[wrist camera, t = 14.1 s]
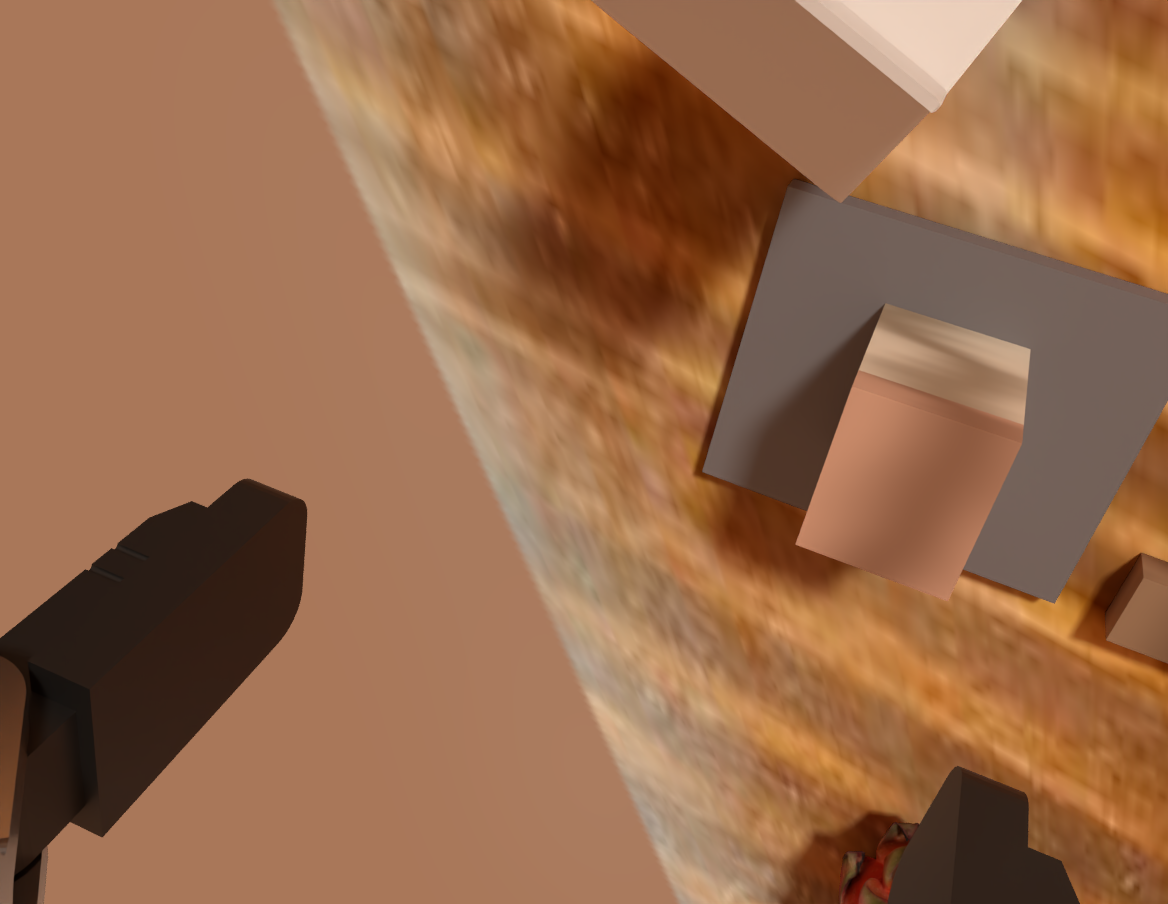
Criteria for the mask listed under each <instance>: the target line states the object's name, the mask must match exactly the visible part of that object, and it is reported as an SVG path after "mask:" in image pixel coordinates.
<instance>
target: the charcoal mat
mask: <svg viewBox="0 0 1168 904" xmlns="http://www.w3.org/2000/svg"><path fill="white" fill-rule="evenodd" d="M885 303H886V304H890V305H893V306H896V307H899V308H902V309H905V310H908V311H912V312H915V313H918V314H921V315H924V316H927V317H931V318H934V319H937V320H940V321H943V322H946V323H949V324H953V325H956V326H959V327H962V328H965V329H968V330H972V331H975V332H978V333H981V334H984V335H987V336H990V337H994V338H997V339H1000V340H1003V341H1006V342H1009V343H1012V344H1016V345H1019V346H1022V347H1025V348H1028V349H1031V350H1030V361H1029V372H1028V383H1027V395H1026V406H1025V417H1024V429H1023V440H1022V445H1021V447H1020V449H1019V451H1018V453H1017V455H1016V458H1015V460H1014V462H1013V464H1012V466H1011V468H1010V470H1009V472H1008V475H1007V477H1006V479H1005V481H1004V483H1003V485H1002V487H1001V489H1000V492H999V494H998V496H997V498H996V500H995V502H994V504H993V506H992V509H991V511H990V513H989V515H988V517H987V519H986V521H985V523H984V525H983V528H982V530H981V532H980V534H979V536H978V538H977V540H976V542H975V545H974V547H973V549H972V551H971V553H970V555H969V557H968V559H967V562H966V564H965V566H964V568H963V570H966V571H969V572H971V573H974V574H977V575H979V576H982V577H985V578H987V579H990V580H993V581H995V582H998V583H1001V584H1003V585H1006V586H1009V587H1011V588H1014V589H1017V590H1019V591H1022V592H1025V593H1027V594H1030V595H1033V596H1035V597H1038V598H1041V599H1043V600H1046V601H1049V602H1051V603H1054V604H1055V602H1056V600H1057V598H1058V596H1059V595H1060V593H1061V591H1062V589H1063V588H1064V586H1065V584H1066V582H1067V580H1068V579H1069V577H1070V575H1071V573H1072V571H1073V570H1074V568H1075V566H1076V564H1077V562H1078V561H1079V559H1080V557H1081V555H1082V553H1083V552H1084V550H1085V548H1086V546H1087V545H1088V543H1089V541H1090V539H1091V537H1092V536H1093V534H1094V532H1095V530H1096V528H1097V527H1098V525H1099V523H1100V521H1101V519H1102V518H1103V516H1104V514H1105V512H1106V510H1107V509H1108V507H1109V505H1110V503H1111V501H1112V500H1113V498H1114V496H1115V494H1116V493H1117V491H1118V489H1119V487H1120V485H1121V484H1122V482H1123V480H1124V478H1125V476H1126V475H1127V473H1128V471H1129V469H1130V467H1131V466H1132V464H1133V462H1134V460H1135V458H1136V457H1137V455H1138V453H1139V451H1140V450H1141V448H1142V446H1143V444H1144V442H1145V441H1146V439H1147V437H1148V435H1149V433H1150V432H1151V430H1152V428H1153V426H1154V424H1155V423H1156V421H1157V419H1158V417H1159V415H1160V414H1161V412H1162V410H1163V408H1164V406H1165V405H1166V403H1167V401H1168V294H1166V293H1163V292H1160V291H1156V290H1153V289H1150V288H1147V287H1143V286H1140V285H1137V284H1134V283H1130V282H1127V281H1124V280H1121V279H1117V278H1114V277H1111V276H1108V275H1104V274H1101V273H1098V272H1095V271H1091V270H1088V269H1085V268H1082V267H1079V266H1075V265H1072V264H1069V263H1066V262H1062V261H1059V260H1056V259H1053V258H1049V257H1046V256H1043V255H1040V254H1036V253H1033V252H1030V251H1027V250H1023V249H1020V248H1017V247H1014V246H1010V245H1007V244H1004V243H1001V242H997V241H994V240H991V239H988V238H985V237H981V236H978V235H975V234H972V233H968V232H965V231H962V230H959V229H955V228H952V227H949V226H946V225H942V224H939V223H936V222H933V221H929V220H926V219H923V218H920V217H916V216H913V215H910V214H907V213H904V212H900V211H897V210H894V209H891V208H887V207H884V206H881V205H878V204H874V203H871V202H868V201H865V200H861V199H858V198H855V197H852V196H848V197H847V198H846V199H845V200H844V201H843V202H842V203H840V202H838V201H836V200H835V199H833V198H832V197H831V196H829V195H828V194H827V193H825V192H824V191H823V190H822V189H820V188H819V187H818V186H816V185H813V184H810V183H806V182H803V181H800V180H797V179H793V180H792V182H791V183H790V184H789V185H788V187H787V190H786V194H785V197H784V200H783V204H782V207H781V210H780V214H779V217H778V220H777V224H776V227H775V230H774V234H773V237H772V240H771V244H770V247H769V250H768V254H767V257H766V260H765V264H764V267H763V270H762V274H761V277H760V280H759V284H758V287H757V290H756V294H755V297H754V300H753V304H752V307H751V310H750V314H749V317H748V320H747V324H746V327H745V330H744V334H743V337H742V340H741V344H740V347H739V350H738V354H737V357H736V360H735V364H734V367H733V370H732V374H731V377H730V380H729V384H728V387H727V390H726V394H725V397H724V400H723V404H722V407H721V410H720V414H719V417H718V420H717V424H716V427H715V430H714V434H713V437H712V440H711V444H710V447H709V450H708V454H707V457H706V460H705V464H704V467H703V470H702V472H704V473H706V474H709V475H712V476H714V477H717V478H720V479H722V480H725V481H728V482H730V483H733V484H736V485H738V486H741V487H744V488H746V489H749V490H752V491H754V492H757V493H760V494H762V495H765V496H768V497H771V498H773V499H776V500H779V501H781V502H784V503H787V504H789V505H792V506H795V507H797V508H800V509H803V510H805V511H808V508H809V505H810V502H811V499H812V497H813V494H814V491H815V488H816V486H817V483H818V480H819V477H820V474H821V472H822V469H823V466H824V463H825V460H826V458H827V455H828V452H829V449H830V447H831V444H832V441H833V438H834V435H835V433H836V430H837V427H838V424H839V421H840V419H841V416H842V413H843V410H844V408H845V405H846V402H847V399H848V396H849V394H850V391H851V388H852V385H853V383H854V380H855V378H856V375H857V373H858V370H859V368H860V365H861V363H862V360H863V358H864V355H865V353H866V350H867V348H868V345H869V343H870V340H871V338H872V335H873V333H874V330H875V328H876V325H877V323H878V320H879V318H880V315H881V313H882V311H883V308H884V306H885Z"/></svg>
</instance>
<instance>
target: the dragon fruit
mask: <svg viewBox="0 0 1168 904" xmlns="http://www.w3.org/2000/svg"><path fill="white" fill-rule="evenodd" d="M918 826H919V824H918V823H915V824H911V823H896V822H895V823H893V824H892V825H891V827H890V828H889V830H888V831H887V832H886V833H885V835H884V836H883V837H882V839H881V841H880V842H879V844H878V846H877V849H876V855H877V856H876V859H874V858H871V857H868V856H865V852H863V851H854V852H853V851H849V852H846V854H845V855H844V857H843V863H842V869H841V876H840V877H841V880H840V888H839V904H887V903H888V898H889V893H890V890H891V886H892V882H893V879H894V876H895V873H896V870H897V867H898V865H899V862H900V860H901V857H902V855H903V853H904V851H905V849H906V847H907V845H908V844H909V842H910V840H911V838H912V837H913V835H914V833H915V832H916V830H917V828H918Z"/></svg>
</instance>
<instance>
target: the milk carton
mask: <svg viewBox="0 0 1168 904" xmlns="http://www.w3.org/2000/svg"><path fill="white" fill-rule="evenodd" d="M592 1H593V2H594V3H595V4H596V5H597V6H599V7H600V8H601V9H602V10H603V11H604V12H606V13H607V14H608V15H609V16H611V17H612V18H613V19H614V20H615V21H617V22H618V23H619V24H620V25H621V26H623V27H624V28H625V29H626V30H628V31H629V32H630V33H631V34H632V35H634V36H635V37H636V38H637V39H639V40H640V41H641V42H642V43H643V44H645V45H646V46H647V47H648V48H649V49H651V50H652V51H653V52H654V53H656V54H657V55H658V56H659V57H660V58H662V59H663V60H664V61H665V62H667V63H668V64H669V65H670V66H671V67H673V68H674V69H675V70H676V71H678V72H679V73H680V74H681V75H682V76H684V77H685V78H686V79H687V80H688V81H690V82H691V83H692V84H693V85H695V86H696V87H697V88H698V89H699V90H701V91H702V92H703V93H704V94H706V95H707V96H708V97H709V98H710V99H712V100H713V101H714V102H715V103H717V104H718V105H719V106H720V107H721V108H723V109H724V110H725V111H726V112H727V113H729V114H730V115H731V116H732V117H734V118H735V119H736V120H737V121H738V122H740V123H741V124H742V125H743V126H745V127H746V128H747V129H748V130H749V131H751V132H752V133H753V134H754V135H756V136H757V137H758V138H759V139H760V140H762V141H763V142H764V143H765V144H766V145H768V146H769V147H770V148H771V149H773V150H774V151H775V152H776V153H777V154H779V155H780V156H781V157H782V158H784V159H785V160H786V161H787V162H788V163H790V164H791V165H792V166H793V167H795V168H796V169H797V170H798V171H799V172H801V173H802V174H803V175H804V176H806V177H807V178H808V179H809V180H810V181H812V182H813V183H814V184H815V185H817V186H818V187H819V188H820V189H822V190H823V191H824V192H825V193H827V194H828V195H829V196H831V197H832V198H833V199H835V200H836V201H838V202H840V203H842V202H843V201H844V200H845V199H846V198H847V197H848V196H849V195H850V194H851V193H852V191H853V190H854V189H855V188H856V187H857V186H858V185H859V184H860V183H861V182H862V181H863V180H864V179H865V178H866V177H867V176H868V175H869V174H870V173H871V172H872V171H873V170H874V169H875V168H876V167H877V166H878V165H879V164H880V163H881V162H882V161H883V160H884V159H885V158H886V156H887V155H888V154H889V153H890V152H891V151H892V150H893V149H894V148H895V147H896V146H897V145H898V144H899V143H900V142H901V141H902V140H903V139H904V138H905V137H906V136H907V135H908V134H909V133H910V132H911V131H912V130H913V129H914V128H915V127H916V126H917V125H918V124H919V123H920V121H921V120H922V119H923V118H924V117H925V116H926V115H927V114H928V113H929V112H931V113H933V112H936V111H937V110H938V108H939V107H940V106H941V105H942V103H943V101H944V99H945V97H946V95H947V93H948V92H949V91H950V89H951V88H952V87H953V86H954V84H955V83H956V82H957V81H958V79H959V78H960V77H961V76H962V74H963V73H964V72H965V71H966V69H967V68H968V67H969V66H970V64H971V63H972V62H973V61H974V60H975V58H976V57H977V56H978V55H979V53H980V52H981V51H982V50H983V48H984V47H985V46H986V45H987V43H988V42H989V41H990V40H991V38H992V37H993V36H994V35H995V33H996V32H997V31H998V30H999V28H1000V27H1001V26H1002V25H1003V23H1004V22H1005V21H1006V20H1007V19H1008V17H1009V16H1010V15H1011V14H1012V12H1013V11H1014V10H1015V9H1016V7H1017V6H1018V5H1019V4H1020V2H1021V1H1022V0H592Z"/></svg>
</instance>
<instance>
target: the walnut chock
mask: <svg viewBox="0 0 1168 904" xmlns="http://www.w3.org/2000/svg"><path fill="white" fill-rule="evenodd" d="M1105 628H1106V640H1107V641H1109V642H1112V643H1115V644H1117V645H1120V646H1123V647H1125V648H1128V649H1131V650H1133V651H1136V652H1138V653H1141V654H1144V655H1146V656H1149V657H1152V658H1154V659H1157V660H1160V661H1162V662H1165V663H1168V562H1165V561H1163V560H1160V559H1157V558H1154V557H1151V556H1149V555H1146V554H1143V553H1141V555H1140V556H1139V558H1138V560H1137V561H1136V563H1135V565H1134V566H1133V568H1132V570H1131V571H1130V573H1129V575H1128V576H1127V578H1126V580H1125V581H1124V583H1123V585H1122V586H1121V588H1120V590H1119V591H1118V593H1117V595H1116V597H1115V598H1114V600H1113V602H1112V603H1111V605H1110V607H1109V608H1108V610H1107V612H1106V613H1105Z"/></svg>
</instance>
